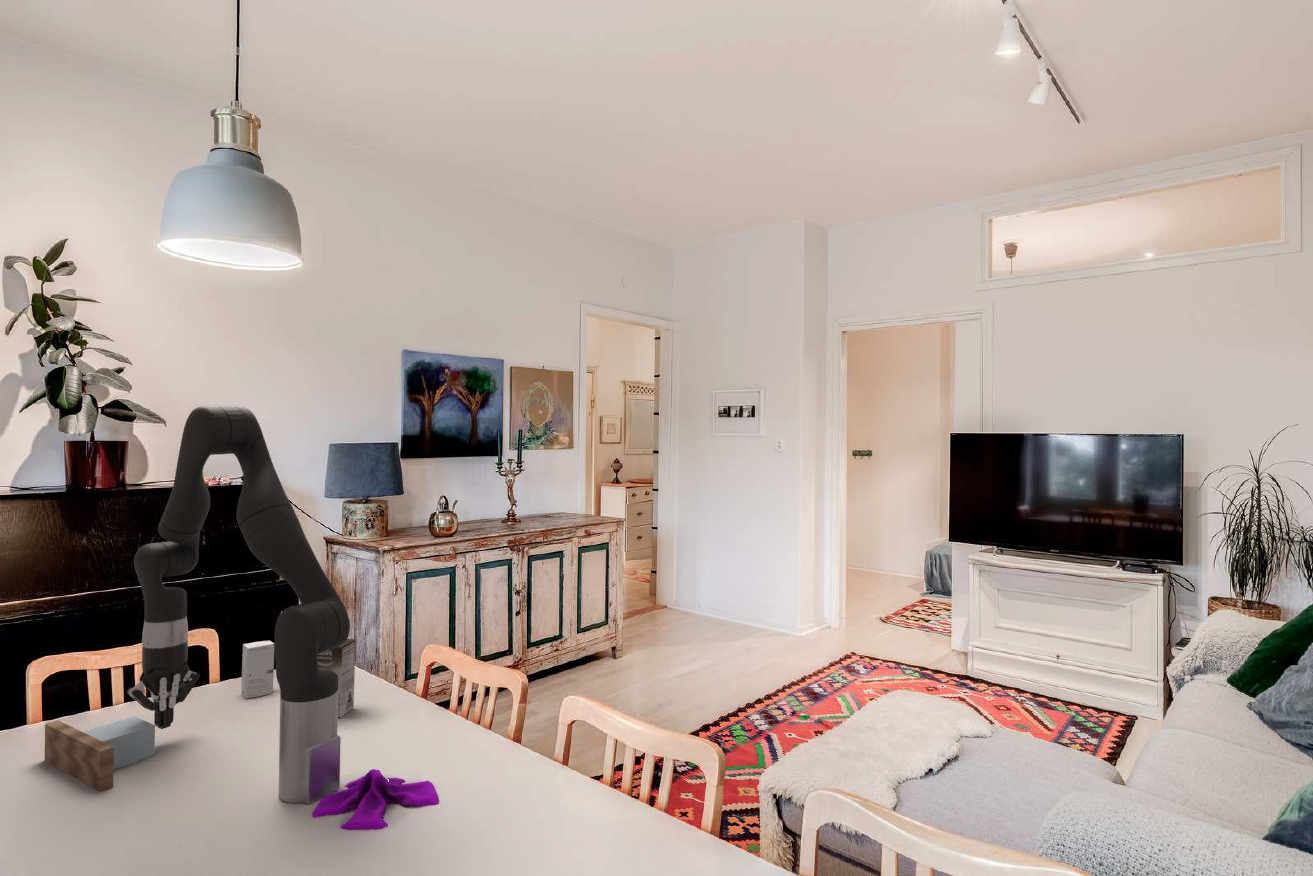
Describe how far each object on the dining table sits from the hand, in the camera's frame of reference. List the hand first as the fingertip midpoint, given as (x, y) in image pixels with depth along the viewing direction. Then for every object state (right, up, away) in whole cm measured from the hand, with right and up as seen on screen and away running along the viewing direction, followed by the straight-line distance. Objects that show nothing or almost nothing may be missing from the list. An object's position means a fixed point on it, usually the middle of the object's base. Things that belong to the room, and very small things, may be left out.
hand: (164, 727), depth 141 cm
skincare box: (+3, -4, +28) cm, 28 cm away
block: (-5, -4, -7) cm, 9 cm away
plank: (-7, -3, -12) cm, 15 cm away
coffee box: (+25, -4, +18) cm, 31 cm away
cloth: (+50, -5, -19) cm, 54 cm away
